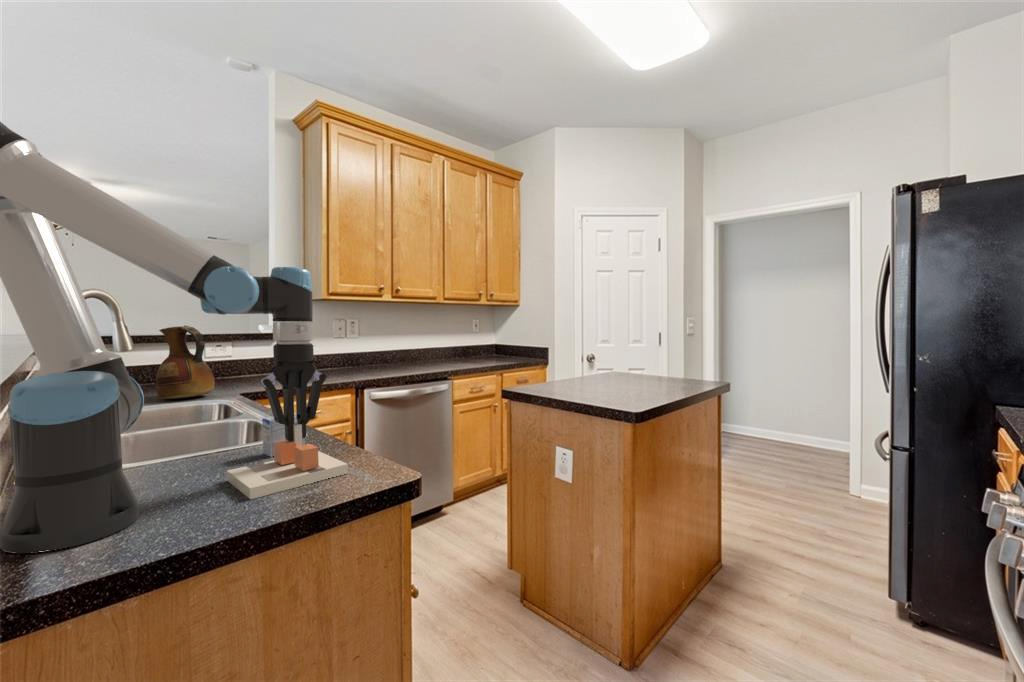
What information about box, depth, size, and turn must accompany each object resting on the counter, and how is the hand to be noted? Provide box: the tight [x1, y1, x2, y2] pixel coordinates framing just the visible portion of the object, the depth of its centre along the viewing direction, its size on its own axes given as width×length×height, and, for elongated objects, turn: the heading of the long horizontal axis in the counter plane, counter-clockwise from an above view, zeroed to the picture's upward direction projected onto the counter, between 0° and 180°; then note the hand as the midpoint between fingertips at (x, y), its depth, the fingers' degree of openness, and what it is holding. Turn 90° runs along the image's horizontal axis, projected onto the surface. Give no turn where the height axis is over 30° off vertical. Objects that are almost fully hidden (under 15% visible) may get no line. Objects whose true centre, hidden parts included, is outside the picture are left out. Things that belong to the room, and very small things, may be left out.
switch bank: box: [226, 450, 349, 500], centre depth 91 cm, size 18×14×2 cm
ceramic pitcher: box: [155, 325, 216, 400], centre depth 187 cm, size 20×20×30 cm
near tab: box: [294, 443, 319, 471], centre depth 90 cm, size 3×4×4 cm
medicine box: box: [261, 412, 305, 458], centre depth 109 cm, size 8×4×9 cm, turn 141°
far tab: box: [273, 440, 296, 465], centre depth 94 cm, size 3×4×4 cm
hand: (296, 454), depth 96 cm, fingers closed
